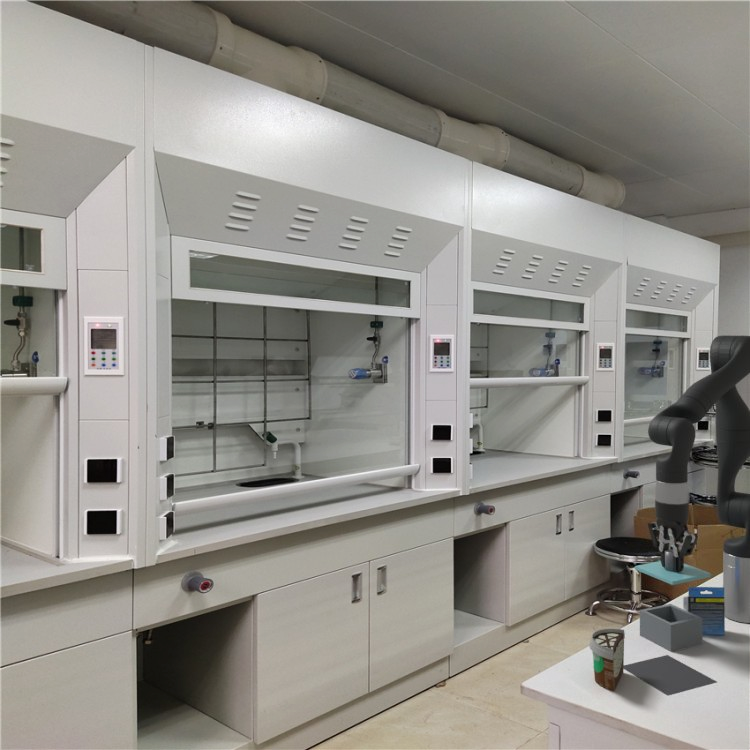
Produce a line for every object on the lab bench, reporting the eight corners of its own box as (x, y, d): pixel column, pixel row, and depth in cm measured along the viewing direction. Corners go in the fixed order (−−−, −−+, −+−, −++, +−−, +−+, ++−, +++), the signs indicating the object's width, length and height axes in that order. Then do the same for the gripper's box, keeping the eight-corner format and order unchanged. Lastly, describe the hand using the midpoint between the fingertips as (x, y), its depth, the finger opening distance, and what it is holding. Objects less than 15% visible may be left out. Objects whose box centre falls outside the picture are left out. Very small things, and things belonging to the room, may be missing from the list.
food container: (596, 666, 157) (596, 623, 157) (624, 672, 154) (624, 628, 154) (582, 690, 147) (582, 644, 146) (612, 697, 144) (612, 650, 143)
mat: (667, 657, 161) (667, 654, 161) (717, 684, 148) (717, 681, 148) (620, 668, 156) (620, 666, 156) (667, 698, 143) (667, 695, 143)
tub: (670, 630, 176) (670, 603, 176) (702, 646, 167) (702, 618, 166) (639, 637, 172) (639, 610, 172) (670, 654, 163) (670, 625, 163)
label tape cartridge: (718, 629, 176) (719, 582, 176) (725, 635, 172) (725, 587, 172) (682, 628, 177) (683, 581, 177) (688, 635, 173) (688, 586, 173)
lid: (671, 561, 175) (671, 541, 175) (710, 576, 164) (710, 554, 164) (634, 569, 171) (634, 548, 171) (672, 585, 160) (672, 562, 159)
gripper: (707, 503, 162) (707, 575, 163) (661, 491, 175) (661, 558, 176) (683, 507, 159) (683, 580, 160) (638, 494, 172) (638, 562, 173)
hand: (672, 568), depth 168 cm, fingers closed on lid, 3 cm apart
